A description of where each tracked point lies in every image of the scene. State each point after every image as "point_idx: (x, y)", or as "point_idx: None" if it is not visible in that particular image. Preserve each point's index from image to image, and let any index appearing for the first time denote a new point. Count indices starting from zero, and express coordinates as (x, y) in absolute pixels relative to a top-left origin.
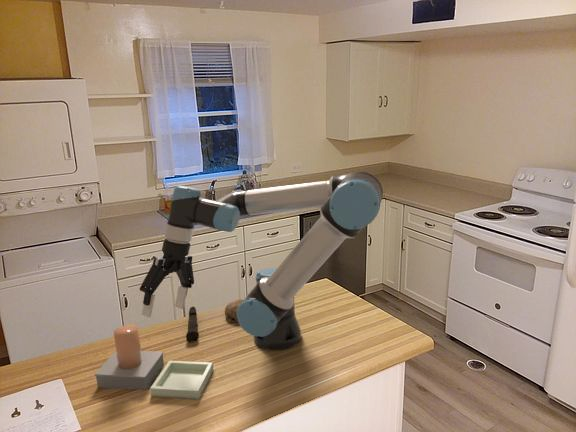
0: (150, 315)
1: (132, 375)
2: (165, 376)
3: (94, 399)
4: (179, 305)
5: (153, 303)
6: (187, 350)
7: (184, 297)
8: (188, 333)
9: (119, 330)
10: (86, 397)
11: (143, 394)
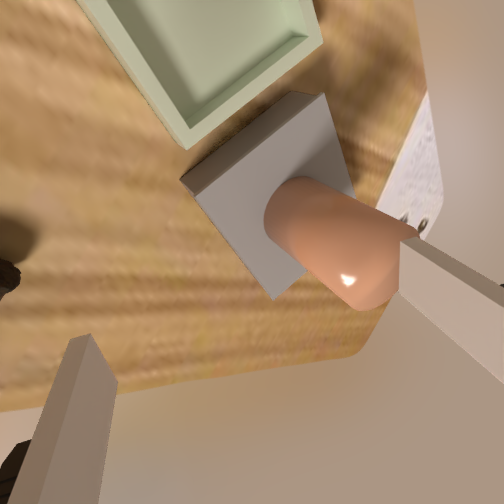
0: (414, 244)
1: (334, 136)
2: (231, 88)
3: (362, 166)
4: (98, 368)
5: (478, 290)
6: (50, 207)
7: (57, 419)
8: (5, 284)
9: (391, 283)
10: (363, 187)
11: (306, 77)
